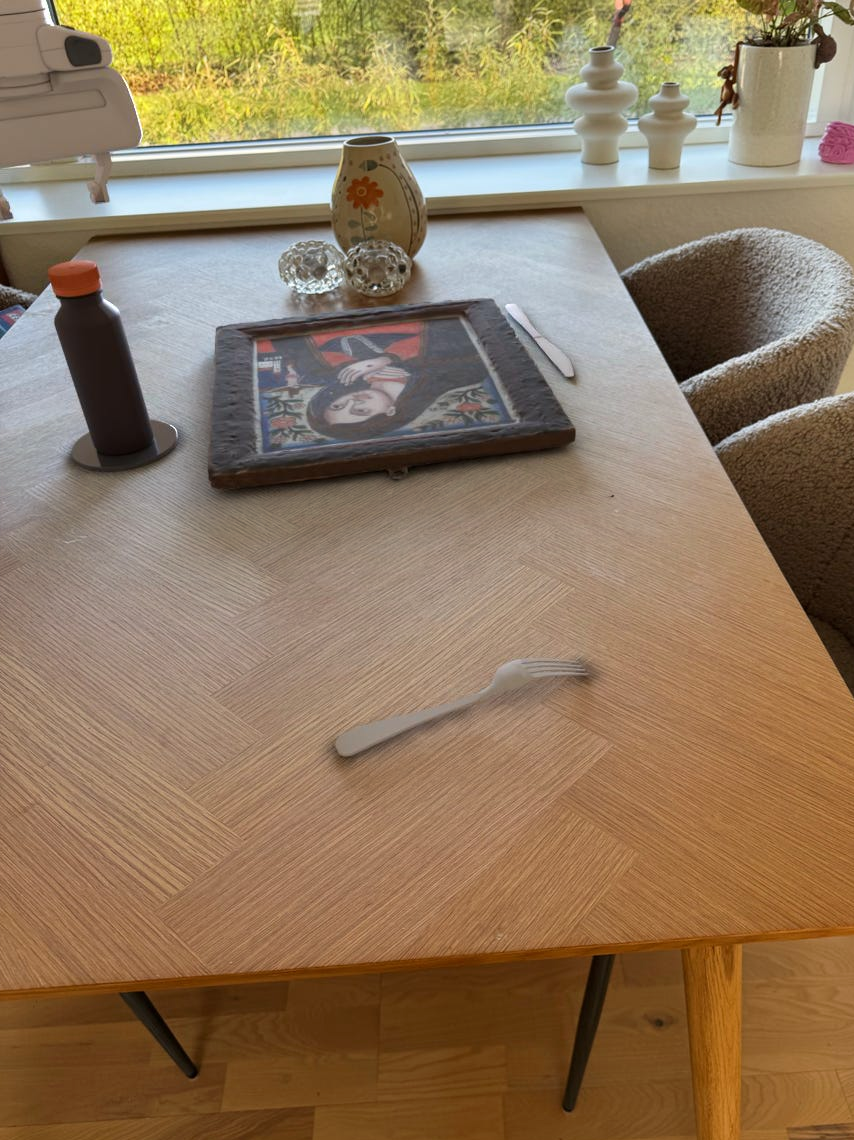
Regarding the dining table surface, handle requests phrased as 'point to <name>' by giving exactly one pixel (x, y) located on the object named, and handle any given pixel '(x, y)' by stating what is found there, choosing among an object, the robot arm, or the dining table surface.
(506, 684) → the fork
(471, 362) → the religious icon
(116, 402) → the vinegar
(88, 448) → the coaster
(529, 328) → the butter knife
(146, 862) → the dining table surface
